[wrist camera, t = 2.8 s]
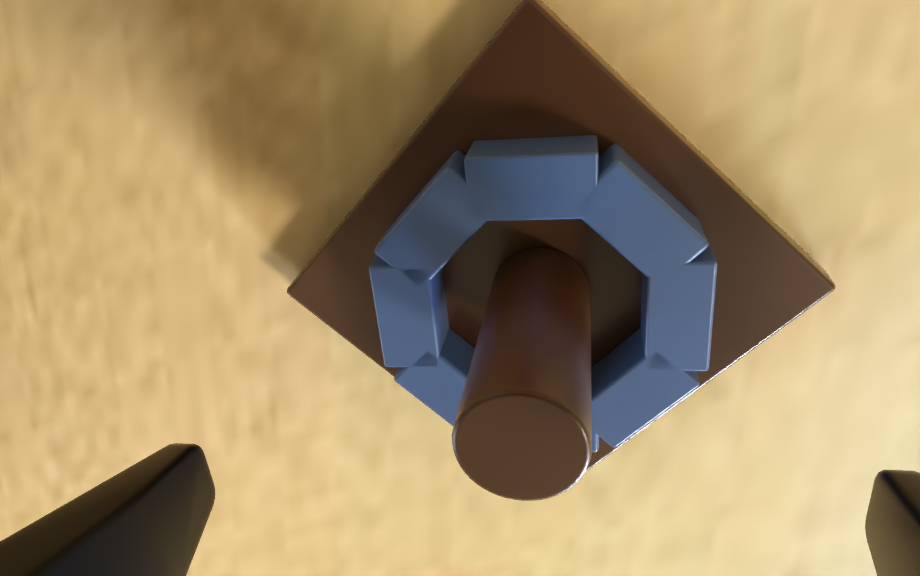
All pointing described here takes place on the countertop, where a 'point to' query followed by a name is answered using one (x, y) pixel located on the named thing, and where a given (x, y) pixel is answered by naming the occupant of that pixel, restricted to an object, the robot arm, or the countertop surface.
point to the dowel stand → (554, 259)
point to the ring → (542, 198)
